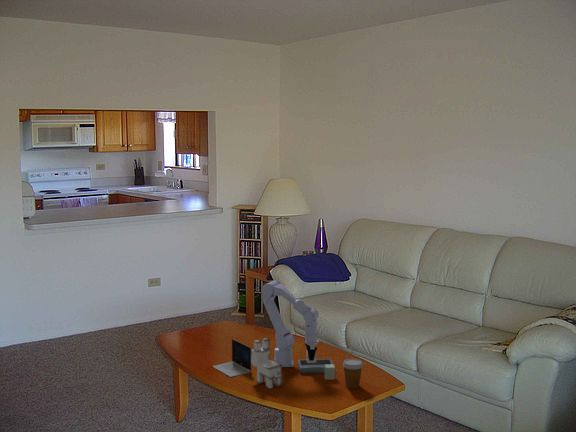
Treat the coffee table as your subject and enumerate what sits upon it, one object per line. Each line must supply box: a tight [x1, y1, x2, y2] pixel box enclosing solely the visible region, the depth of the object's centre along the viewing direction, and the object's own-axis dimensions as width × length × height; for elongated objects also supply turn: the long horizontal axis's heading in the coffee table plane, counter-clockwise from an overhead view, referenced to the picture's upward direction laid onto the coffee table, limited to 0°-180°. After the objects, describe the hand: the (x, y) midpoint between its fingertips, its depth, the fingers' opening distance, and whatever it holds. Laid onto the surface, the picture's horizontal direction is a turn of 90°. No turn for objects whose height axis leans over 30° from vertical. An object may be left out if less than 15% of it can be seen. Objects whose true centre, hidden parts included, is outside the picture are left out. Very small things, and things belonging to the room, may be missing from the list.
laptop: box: [212, 338, 252, 378], centre depth 333 cm, size 18×12×13 cm
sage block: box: [323, 364, 336, 380], centre depth 322 cm, size 4×4×6 cm
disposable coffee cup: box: [342, 358, 364, 390], centre depth 311 cm, size 10×10×12 cm
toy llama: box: [251, 337, 283, 390], centre depth 315 cm, size 8×18×20 cm, turn 37°
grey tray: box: [297, 358, 333, 375], centre depth 334 cm, size 17×12×3 cm
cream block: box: [305, 348, 317, 363], centre depth 333 cm, size 4×4×6 cm
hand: (311, 358), depth 333 cm, fingers closed on cream block, 4 cm apart
